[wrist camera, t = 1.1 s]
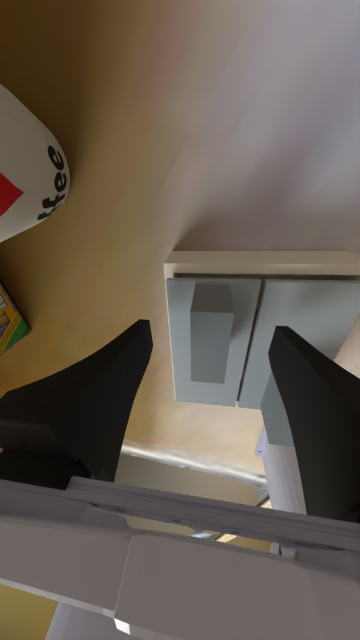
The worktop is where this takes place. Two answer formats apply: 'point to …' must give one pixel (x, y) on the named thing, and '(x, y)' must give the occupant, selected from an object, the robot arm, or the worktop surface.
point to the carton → (262, 270)
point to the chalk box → (10, 323)
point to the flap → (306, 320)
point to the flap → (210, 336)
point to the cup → (28, 168)
